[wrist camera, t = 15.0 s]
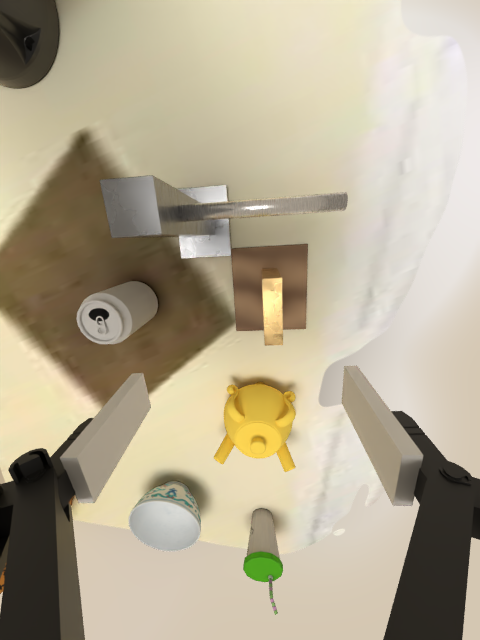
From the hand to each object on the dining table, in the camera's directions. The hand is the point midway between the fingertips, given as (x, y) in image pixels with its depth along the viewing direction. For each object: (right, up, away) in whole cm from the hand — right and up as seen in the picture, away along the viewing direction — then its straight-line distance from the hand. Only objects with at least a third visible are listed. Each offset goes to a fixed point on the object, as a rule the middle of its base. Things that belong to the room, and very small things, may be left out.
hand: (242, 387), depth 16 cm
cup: (+5, -42, +43) cm, 60 cm away
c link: (+5, +8, +25) cm, 27 cm away
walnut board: (+5, +9, +26) cm, 28 cm away
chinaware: (-15, -36, +43) cm, 58 cm away
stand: (0, +20, +23) cm, 30 cm away
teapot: (+3, -13, +34) cm, 36 cm away
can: (-18, +8, +28) cm, 34 cm away
